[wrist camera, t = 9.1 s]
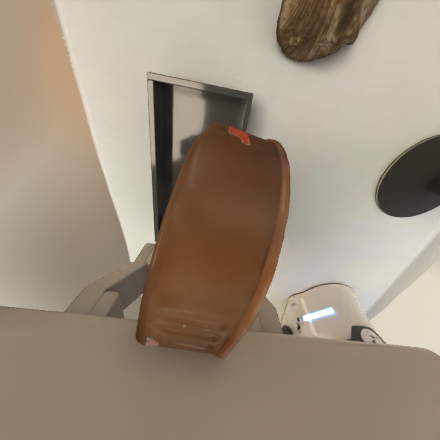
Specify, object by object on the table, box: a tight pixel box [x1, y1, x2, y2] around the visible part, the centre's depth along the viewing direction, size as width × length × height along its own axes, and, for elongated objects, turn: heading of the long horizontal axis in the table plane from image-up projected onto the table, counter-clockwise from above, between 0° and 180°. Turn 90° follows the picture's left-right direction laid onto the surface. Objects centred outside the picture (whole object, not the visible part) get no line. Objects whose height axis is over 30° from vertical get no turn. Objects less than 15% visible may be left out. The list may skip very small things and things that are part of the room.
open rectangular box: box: [147, 72, 253, 241], centre depth 24 cm, size 21×11×5 cm, turn 171°
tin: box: [135, 122, 290, 359], centre depth 9 cm, size 15×3×8 cm, turn 161°
